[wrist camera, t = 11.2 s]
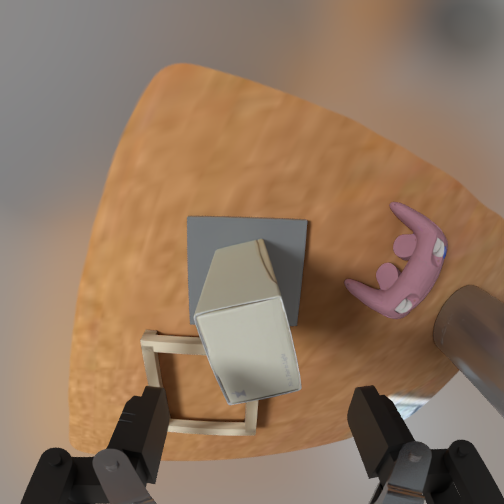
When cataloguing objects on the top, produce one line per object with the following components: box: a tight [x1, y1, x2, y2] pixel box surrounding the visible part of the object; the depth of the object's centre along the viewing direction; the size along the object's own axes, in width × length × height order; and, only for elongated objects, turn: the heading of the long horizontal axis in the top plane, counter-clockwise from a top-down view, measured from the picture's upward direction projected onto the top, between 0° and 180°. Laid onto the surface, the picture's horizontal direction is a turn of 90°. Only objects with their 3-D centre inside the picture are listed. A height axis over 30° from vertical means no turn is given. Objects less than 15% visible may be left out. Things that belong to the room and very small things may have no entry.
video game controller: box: [344, 202, 448, 319], centre depth 24 cm, size 10×5×7 cm, turn 151°
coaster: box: [187, 216, 307, 326], centre depth 26 cm, size 10×10×1 cm
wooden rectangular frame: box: [140, 330, 258, 435], centre depth 28 cm, size 11×13×2 cm
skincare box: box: [194, 239, 301, 405], centre depth 20 cm, size 6×4×12 cm
